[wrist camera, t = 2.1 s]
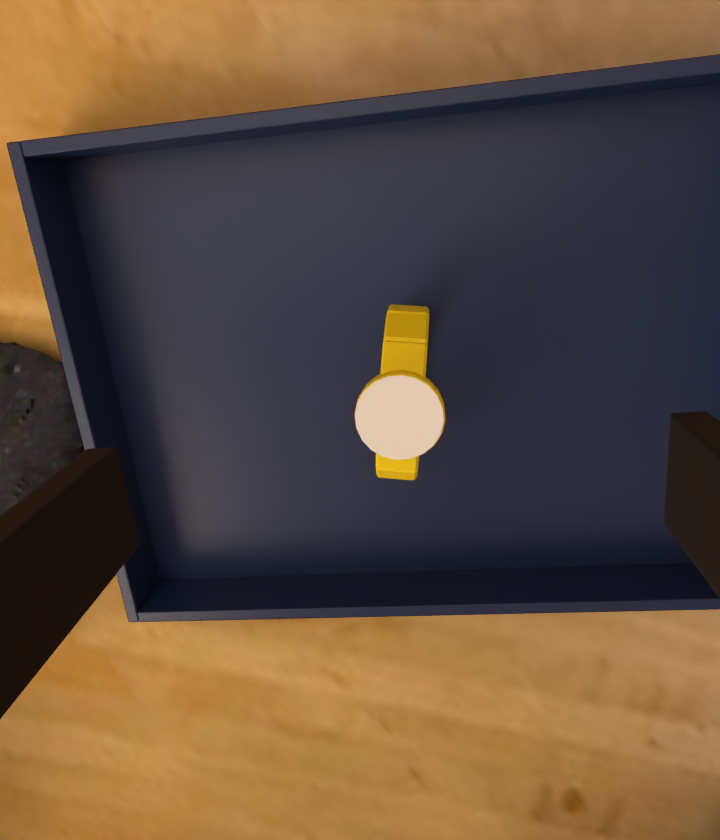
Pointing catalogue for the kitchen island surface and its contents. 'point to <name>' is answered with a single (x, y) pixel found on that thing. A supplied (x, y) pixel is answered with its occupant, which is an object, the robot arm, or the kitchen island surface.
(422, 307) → the watch
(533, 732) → the kitchen island surface
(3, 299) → the kitchen island surface
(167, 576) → the tray
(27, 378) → the dark slate chunk
